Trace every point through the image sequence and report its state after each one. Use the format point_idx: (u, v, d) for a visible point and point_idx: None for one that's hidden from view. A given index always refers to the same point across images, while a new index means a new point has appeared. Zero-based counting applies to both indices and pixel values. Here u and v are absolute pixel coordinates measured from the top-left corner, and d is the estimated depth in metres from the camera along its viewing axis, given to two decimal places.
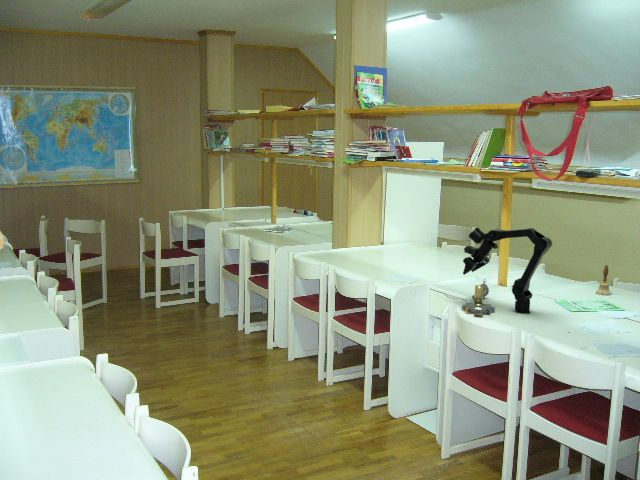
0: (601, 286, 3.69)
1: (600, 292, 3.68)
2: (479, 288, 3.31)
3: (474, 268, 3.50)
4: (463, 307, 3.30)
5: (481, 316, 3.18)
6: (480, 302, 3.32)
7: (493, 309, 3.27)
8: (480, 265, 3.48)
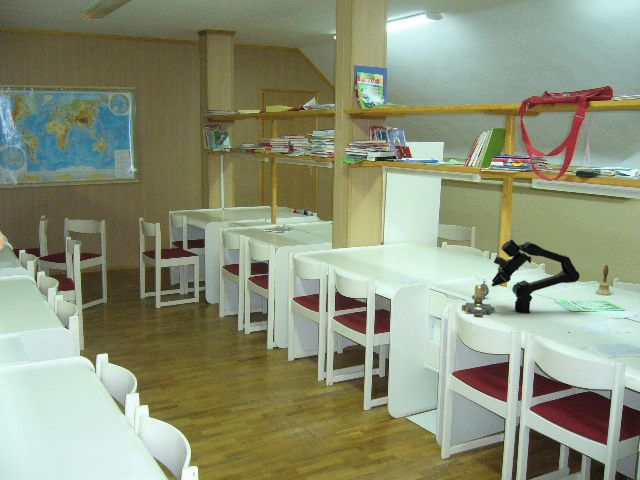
0: (601, 286, 3.69)
1: (600, 292, 3.68)
2: (479, 288, 3.31)
3: (495, 279, 3.35)
4: (463, 307, 3.30)
5: (481, 316, 3.18)
6: (480, 302, 3.32)
7: (493, 309, 3.27)
8: None
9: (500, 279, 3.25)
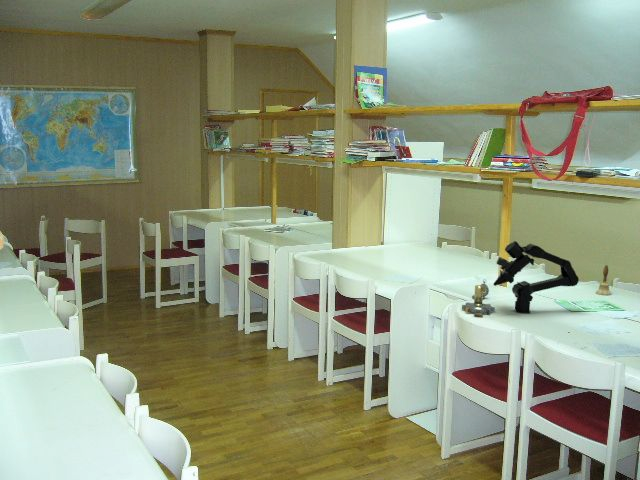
0: (601, 286, 3.69)
1: (600, 292, 3.68)
2: (479, 288, 3.31)
3: None
4: (463, 307, 3.30)
5: (481, 316, 3.18)
6: (480, 302, 3.32)
7: (493, 309, 3.27)
8: None
9: (502, 278, 3.28)
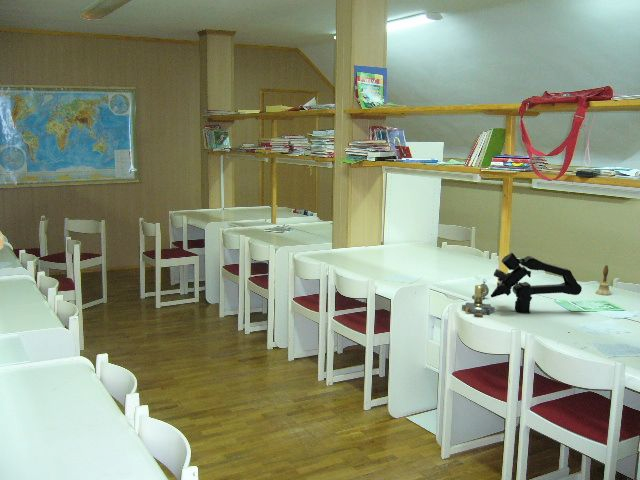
0: (601, 286, 3.69)
1: (600, 292, 3.68)
2: (479, 288, 3.31)
3: None
4: (463, 307, 3.30)
5: (481, 316, 3.18)
6: (480, 302, 3.32)
7: (493, 309, 3.27)
8: None
9: (499, 290, 3.29)
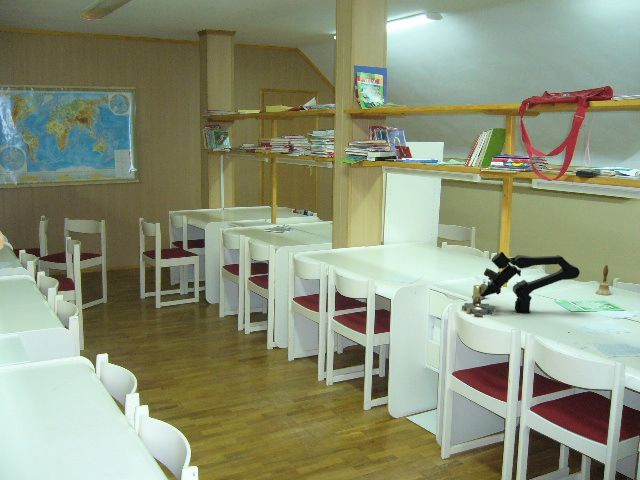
0: (601, 286, 3.69)
1: (600, 292, 3.68)
2: (478, 288, 3.31)
3: None
4: (463, 308, 3.29)
5: (481, 316, 3.18)
6: (479, 302, 3.32)
7: (493, 308, 3.28)
8: None
9: (490, 289, 3.29)
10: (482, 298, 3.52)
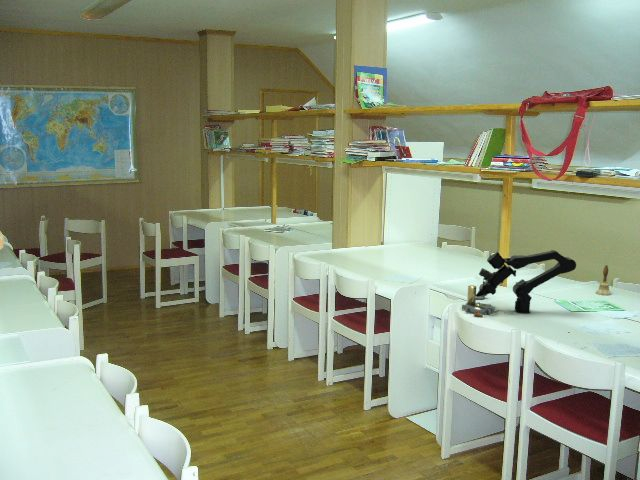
0: (601, 286, 3.69)
1: (600, 292, 3.68)
2: (475, 288, 3.31)
3: None
4: (468, 310, 3.25)
5: (481, 316, 3.18)
6: (475, 302, 3.32)
7: None
8: None
9: (485, 290, 3.30)
10: (482, 298, 3.52)
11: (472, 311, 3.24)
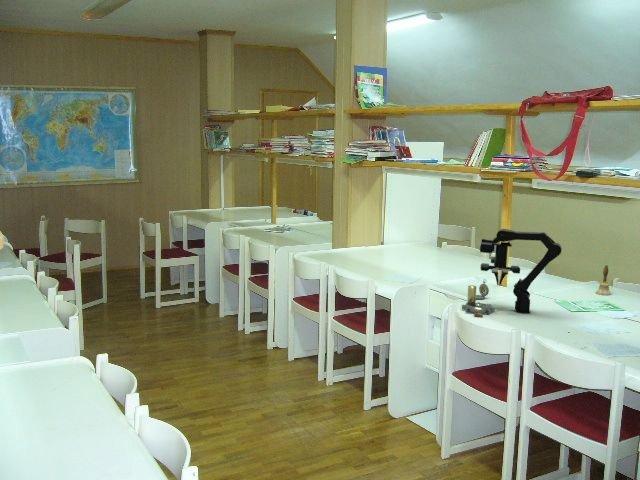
0: (601, 286, 3.69)
1: (600, 292, 3.68)
2: (475, 288, 3.31)
3: (499, 281, 3.32)
4: (468, 310, 3.25)
5: (481, 316, 3.18)
6: (475, 302, 3.32)
7: None
8: (501, 275, 3.30)
9: None
10: (482, 298, 3.52)
11: (472, 311, 3.24)
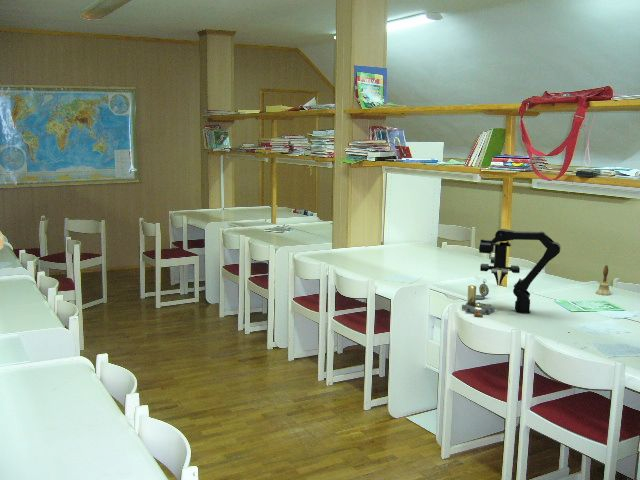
0: (601, 286, 3.69)
1: (600, 292, 3.68)
2: (475, 288, 3.31)
3: (499, 281, 3.32)
4: (468, 310, 3.25)
5: (481, 316, 3.18)
6: (475, 302, 3.32)
7: None
8: (501, 275, 3.30)
9: None
10: (482, 298, 3.52)
11: (472, 311, 3.24)
